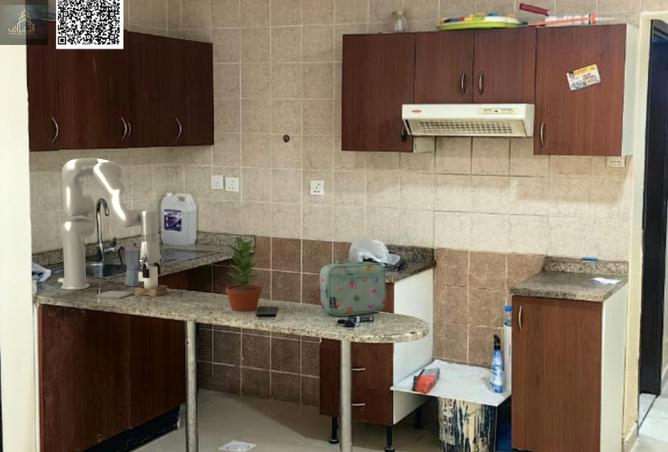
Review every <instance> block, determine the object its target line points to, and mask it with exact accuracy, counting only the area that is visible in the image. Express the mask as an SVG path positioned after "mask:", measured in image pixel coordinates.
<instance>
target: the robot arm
mask: <svg viewBox="0 0 668 452" xmlns="http://www.w3.org/2000/svg"><path fill="white" fill-rule="evenodd" d="M61 170H62V171H61V180H62V198H63V199H62V203H63V212H64V214H65V215H67V216H68V217H76V218H72V219H71V218H70V219H67V220H66V221H63V223H62V224H61V226H60V237H61V242H62V250H63V251H62V252H63V253H62V254H63V274H64V275H63V276H64V277H58V280H57V283H58V284H59V283H60V284H61V283H62V285H61V287H60V288H61V289H62V290H68V291H71V290H72V291H74V290H75V291H76V290H84V289H89V288H90V284H89V283H87V280H86V279H87V275H86V270H87V269H86V248H85V245H84V242H83V239H86V238H91V237H92V236H93V235H94V233H95V231H96V204H95V201H94V199H93V198H92V196H90V195H89V194H85V193H83V184H82V182H81V180H80V178H85V177H94V179H95V180H96V182H98V184H99V186H100V187H101V188H102V190H103V191H104V193H105V194H106V196H107V197H108V204H109V210H110V212H111V215H112V216H113V218H115V220H116V222H117V223H118V224H119V225H120V226H122V227H124V228H132V227H138V226H140V235H141V236H140V238H141V239H140V241H141V242H140V247H141V249H140V264H141V268H142V277H143V278H150V276H149V269H148V268H149V266H151V265H152V264H153V266H157V271H158V276H159V275H161V274H162V273H161V264H162V254H161V252H160V251H161V250H160V243H159V242H160V241H159V235H160V234H159V218H158V211H157V210H156V209H143V208H132V209H128V208H127V207H126V206H125V204H124V202H123V199H122V195H123V194H124V192H125V191H126V186H125V185H124V184H123V182H122V181H121V180H120V177H121V176H122V167H121V165H120V164H119V163H118V162H116V161H113V160H108V159H104V158H103V159H102V158H98V157H81V158H74V159H70V160H69V161H67V162H66V163H64V165H63V167H62V169H61ZM88 287H89V288H88Z"/></svg>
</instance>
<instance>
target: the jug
mask: <svg viewBox="0 0 668 452" xmlns="http://www.w3.org/2000/svg"><path fill="white" fill-rule="evenodd" d="M148 269H149V276H150V278H143V277H142V272H138V276H139V281H144V285H143V286H144V288H145V289H156V288H158V285H159V279H158V276H159V275H158V271H157V266H155V265H149V268H148Z"/></svg>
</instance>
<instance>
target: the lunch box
mask: <svg viewBox="0 0 668 452" xmlns="http://www.w3.org/2000/svg"><path fill="white" fill-rule="evenodd" d="M385 271H386V270H385V268H384V266H383V265H382V264H380V263H379V262H378V263H377V262H372V261H371V262H370V261H346V262H342V261H340V260H336V261H335V263H329V264H327V265H324V266H322V268H321V270H320V273H319V285H320V286H319V289H320V295H319V296H320V297H319V298H320V305H321V309H322V311H323V312H324V313H327V314H331V315H333V316H334V317H335V316H336V317H348V316H356V315H357V316H358V315H364V314H372V313H376V312H380V311H382V310H383V309H385V306H386V304H387V289H386V288H387V287H386V273H385Z"/></svg>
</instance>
